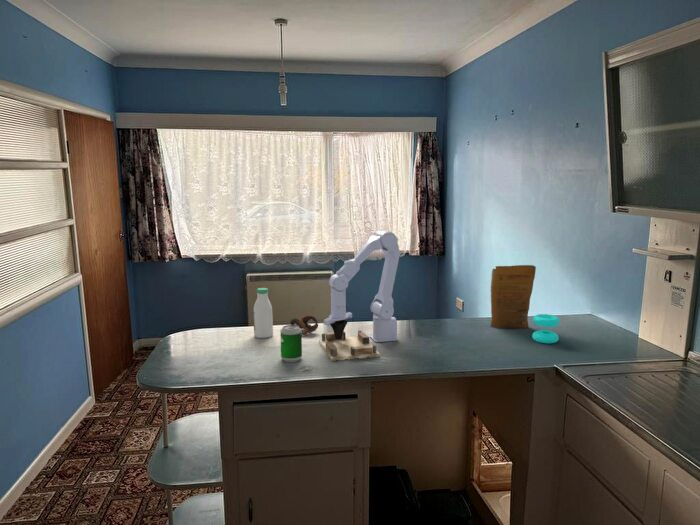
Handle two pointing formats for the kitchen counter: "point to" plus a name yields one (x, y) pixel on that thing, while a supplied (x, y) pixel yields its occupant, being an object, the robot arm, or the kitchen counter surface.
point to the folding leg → (333, 336)
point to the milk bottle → (263, 315)
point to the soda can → (291, 343)
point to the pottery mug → (305, 324)
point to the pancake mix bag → (511, 295)
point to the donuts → (545, 335)
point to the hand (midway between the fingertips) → (338, 339)
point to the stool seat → (349, 347)
